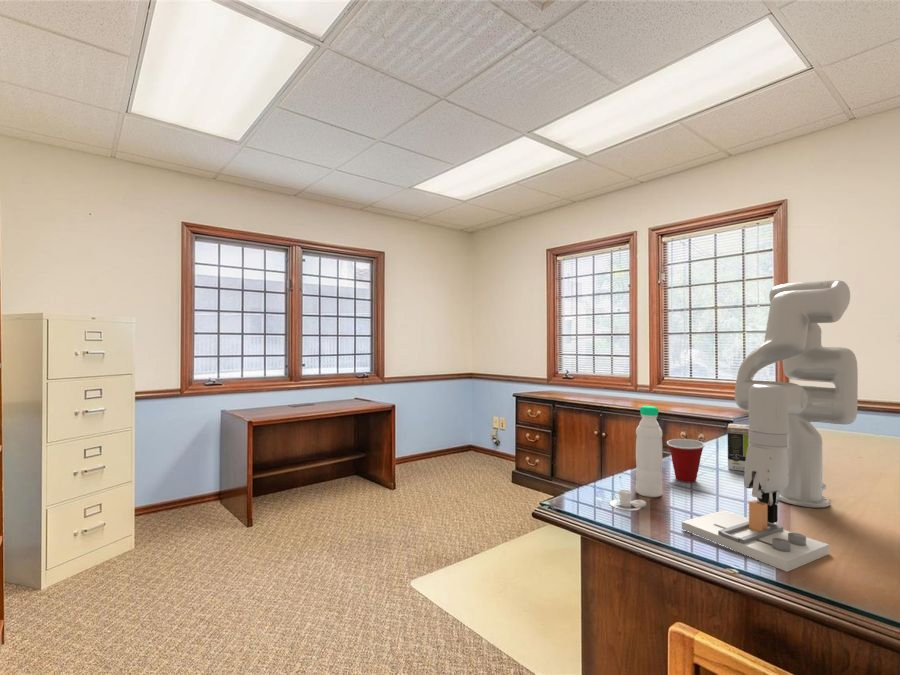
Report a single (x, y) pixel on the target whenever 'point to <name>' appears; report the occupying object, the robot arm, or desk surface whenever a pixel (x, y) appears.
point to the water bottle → (649, 454)
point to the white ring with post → (627, 501)
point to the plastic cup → (685, 458)
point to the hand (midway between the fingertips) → (767, 520)
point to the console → (758, 540)
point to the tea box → (737, 446)
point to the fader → (757, 515)
